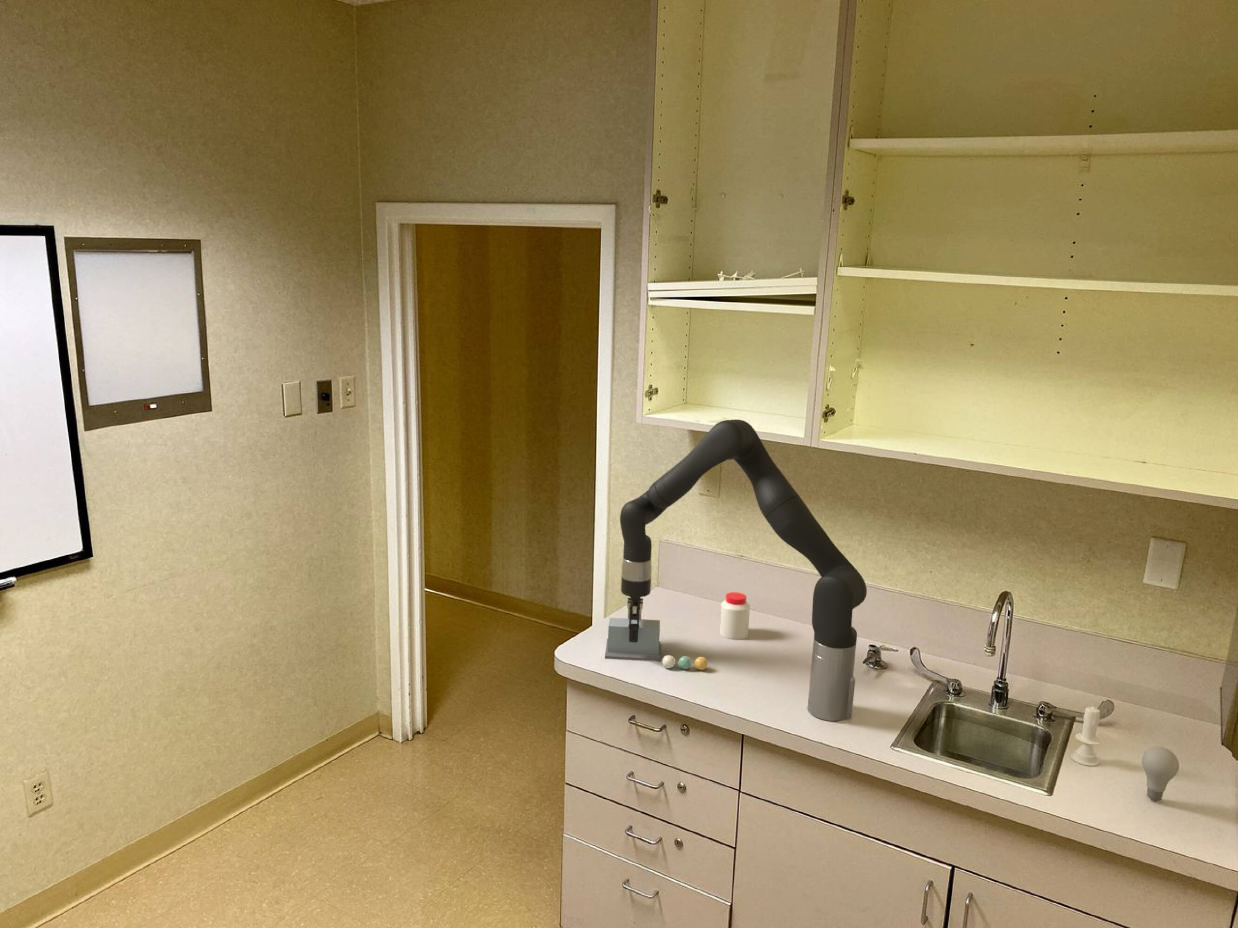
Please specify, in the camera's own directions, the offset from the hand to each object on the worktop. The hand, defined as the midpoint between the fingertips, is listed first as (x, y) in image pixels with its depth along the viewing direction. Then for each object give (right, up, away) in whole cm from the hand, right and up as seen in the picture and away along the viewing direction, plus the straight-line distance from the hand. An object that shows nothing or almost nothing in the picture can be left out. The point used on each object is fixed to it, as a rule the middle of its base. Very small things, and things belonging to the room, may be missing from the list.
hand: (633, 635), depth 231 cm
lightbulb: (+99, -21, -58) cm, 117 cm away
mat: (0, -4, +1) cm, 4 cm away
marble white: (+8, -7, -8) cm, 13 cm away
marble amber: (+16, -7, -8) cm, 20 cm away
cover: (0, -4, +1) cm, 4 cm away
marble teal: (+12, -7, -8) cm, 16 cm away
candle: (+93, -18, -44) cm, 104 cm away
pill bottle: (+27, -3, +14) cm, 31 cm away
